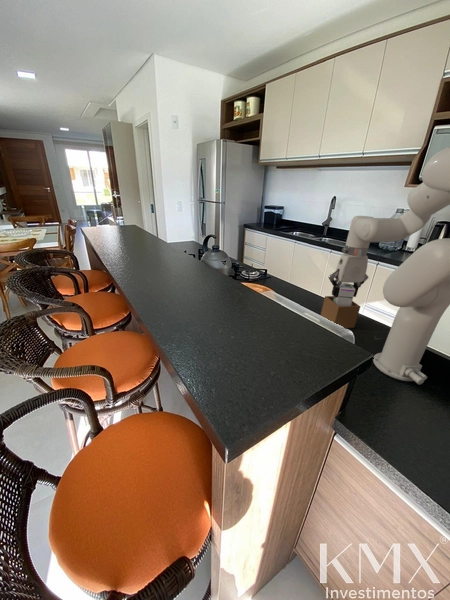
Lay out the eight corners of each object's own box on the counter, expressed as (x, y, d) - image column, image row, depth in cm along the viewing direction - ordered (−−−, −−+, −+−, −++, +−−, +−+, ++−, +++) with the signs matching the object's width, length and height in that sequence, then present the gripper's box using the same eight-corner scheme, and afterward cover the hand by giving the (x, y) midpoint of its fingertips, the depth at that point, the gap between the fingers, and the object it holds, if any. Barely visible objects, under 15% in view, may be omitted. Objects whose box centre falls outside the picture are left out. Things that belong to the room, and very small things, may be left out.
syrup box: (346, 322, 99) (356, 288, 93) (331, 320, 100) (340, 287, 94) (343, 316, 104) (352, 283, 98) (328, 314, 105) (337, 282, 99)
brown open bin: (354, 327, 99) (360, 306, 95) (333, 328, 98) (338, 306, 94) (339, 315, 108) (345, 295, 104) (320, 316, 107) (324, 296, 103)
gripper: (339, 253, 86) (328, 300, 93) (383, 254, 89) (369, 299, 96) (328, 248, 93) (318, 292, 100) (369, 249, 95) (357, 291, 103)
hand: (343, 295), depth 98 cm, fingers closed on syrup box, 7 cm apart
